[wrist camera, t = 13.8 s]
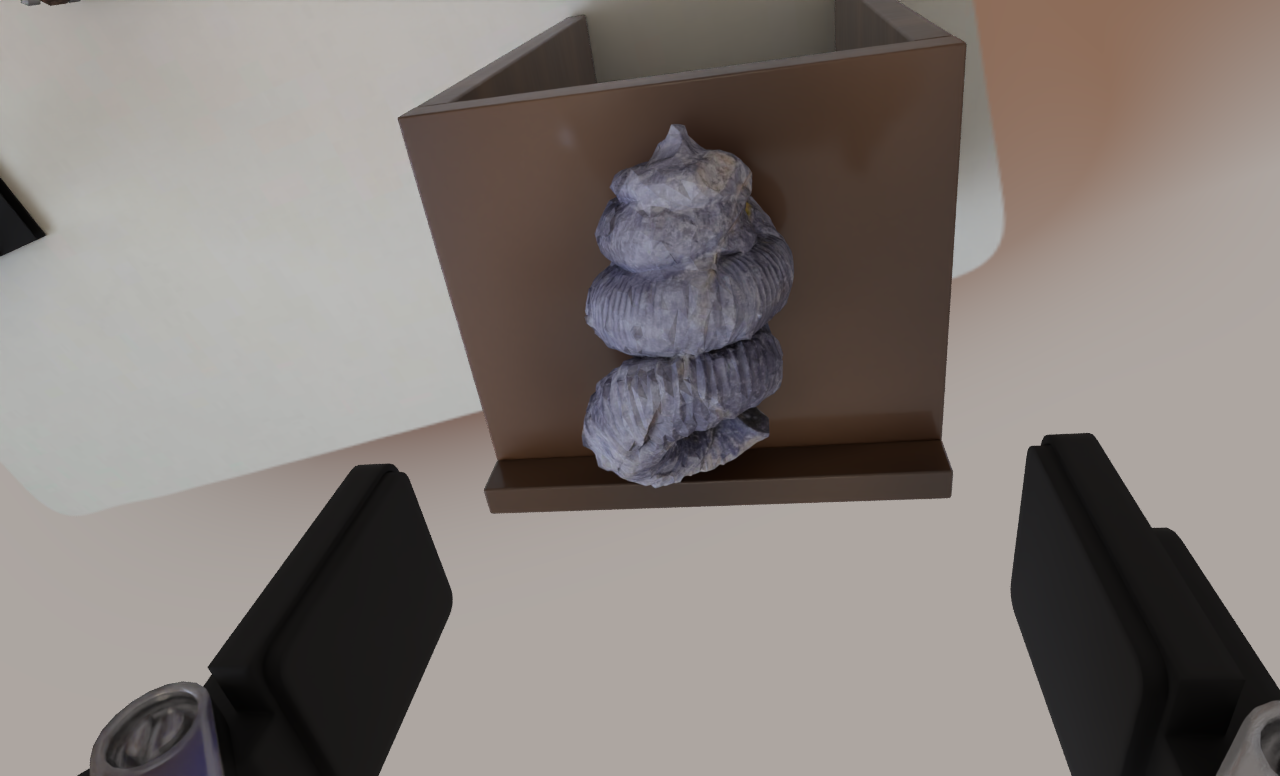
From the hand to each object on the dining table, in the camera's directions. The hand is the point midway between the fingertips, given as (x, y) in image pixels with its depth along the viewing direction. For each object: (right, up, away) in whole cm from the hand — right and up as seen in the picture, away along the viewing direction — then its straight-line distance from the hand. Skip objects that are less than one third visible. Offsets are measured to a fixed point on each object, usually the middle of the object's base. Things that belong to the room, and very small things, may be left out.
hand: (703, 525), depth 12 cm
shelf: (+3, +16, +29) cm, 33 cm away
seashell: (0, +5, +10) cm, 11 cm away
